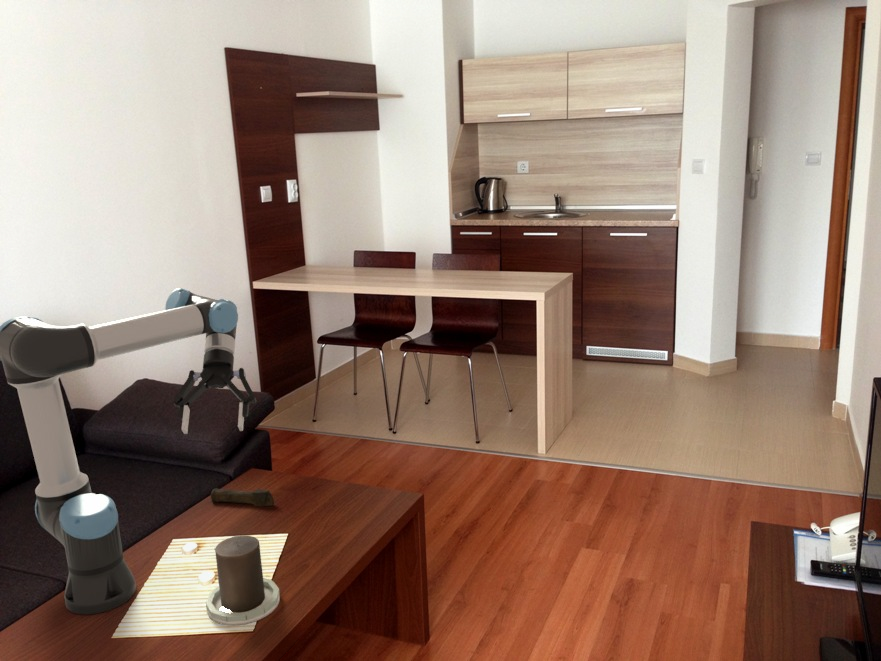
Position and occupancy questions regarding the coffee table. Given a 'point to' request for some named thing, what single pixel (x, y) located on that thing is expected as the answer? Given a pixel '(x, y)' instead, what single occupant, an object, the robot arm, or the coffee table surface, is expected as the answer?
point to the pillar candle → (240, 573)
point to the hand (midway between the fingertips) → (212, 430)
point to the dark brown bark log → (243, 497)
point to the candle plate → (247, 616)
